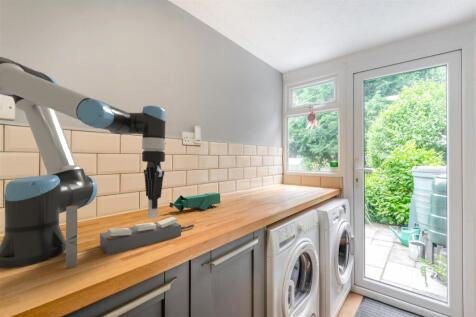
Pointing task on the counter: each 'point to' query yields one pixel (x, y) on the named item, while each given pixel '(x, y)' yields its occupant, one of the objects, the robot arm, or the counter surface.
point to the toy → (196, 201)
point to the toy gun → (71, 236)
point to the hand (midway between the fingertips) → (152, 217)
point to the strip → (139, 238)
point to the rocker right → (167, 222)
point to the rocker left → (119, 231)
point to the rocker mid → (144, 226)
